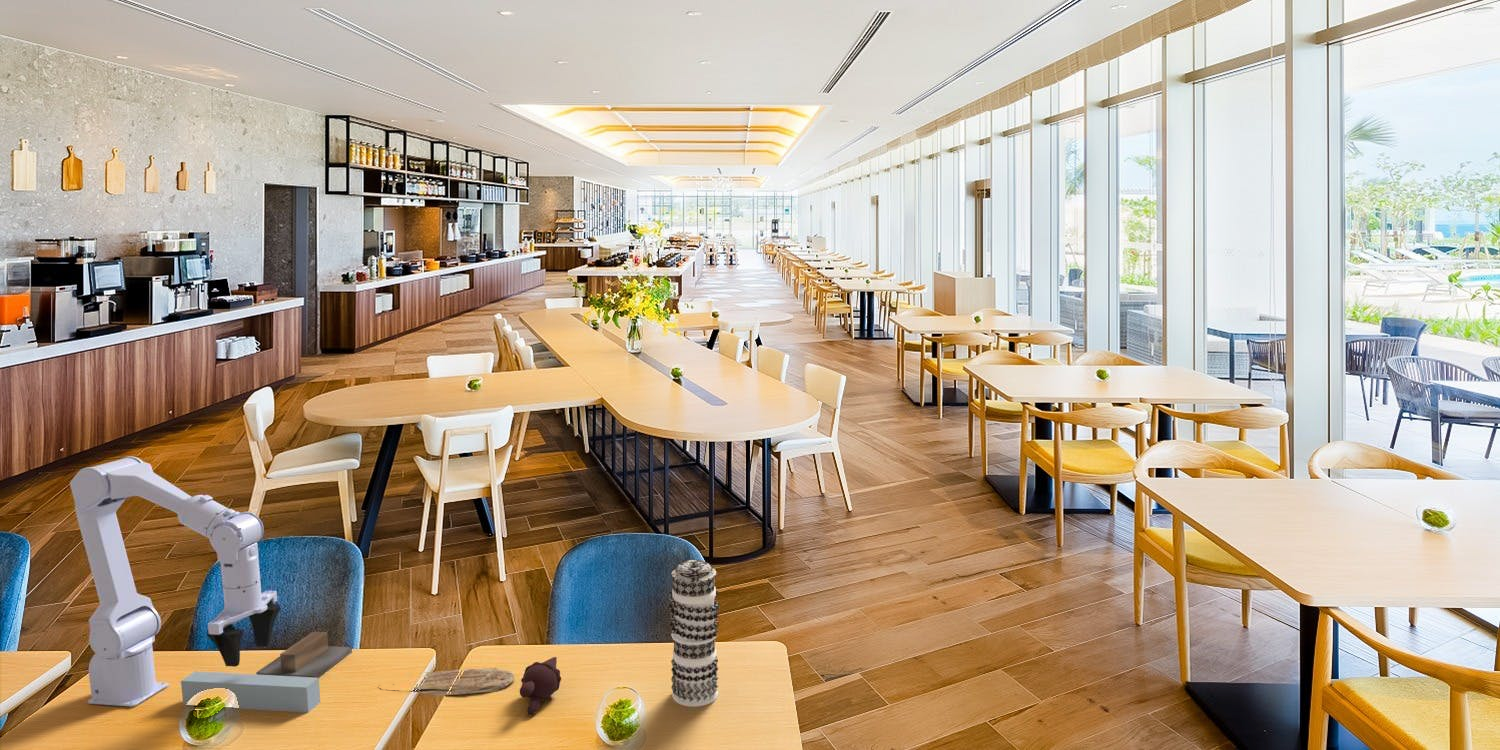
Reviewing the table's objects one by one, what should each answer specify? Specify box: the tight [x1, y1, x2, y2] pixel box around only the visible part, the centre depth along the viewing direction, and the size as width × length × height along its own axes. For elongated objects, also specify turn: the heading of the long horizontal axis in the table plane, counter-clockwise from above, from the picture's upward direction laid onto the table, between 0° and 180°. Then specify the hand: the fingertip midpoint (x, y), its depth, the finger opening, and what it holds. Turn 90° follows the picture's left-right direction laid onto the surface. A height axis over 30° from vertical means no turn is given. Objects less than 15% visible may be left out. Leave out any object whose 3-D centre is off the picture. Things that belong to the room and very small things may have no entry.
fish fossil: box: [413, 667, 515, 697], centre depth 159 cm, size 26×10×1 cm, turn 96°
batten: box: [180, 670, 321, 713], centre depth 150 cm, size 24×4×5 cm, turn 84°
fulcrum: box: [256, 631, 353, 679], centre depth 165 cm, size 12×12×4 cm
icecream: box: [519, 656, 562, 717], centre depth 153 cm, size 7×7×15 cm
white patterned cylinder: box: [667, 559, 720, 708], centre depth 152 cm, size 9×9×25 cm
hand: (248, 655), depth 149 cm, fingers open, 7 cm apart
